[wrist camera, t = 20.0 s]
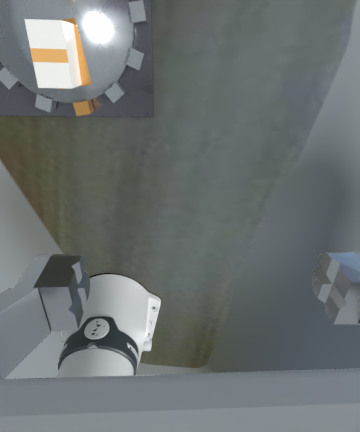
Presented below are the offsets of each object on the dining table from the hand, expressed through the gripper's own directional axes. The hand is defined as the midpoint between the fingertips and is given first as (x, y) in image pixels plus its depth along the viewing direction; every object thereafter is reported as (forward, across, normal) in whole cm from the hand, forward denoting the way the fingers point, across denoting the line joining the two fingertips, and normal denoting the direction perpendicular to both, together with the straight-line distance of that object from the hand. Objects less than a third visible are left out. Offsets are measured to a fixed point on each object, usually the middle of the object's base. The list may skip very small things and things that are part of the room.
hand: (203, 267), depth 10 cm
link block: (+30, +13, -6) cm, 33 cm away
